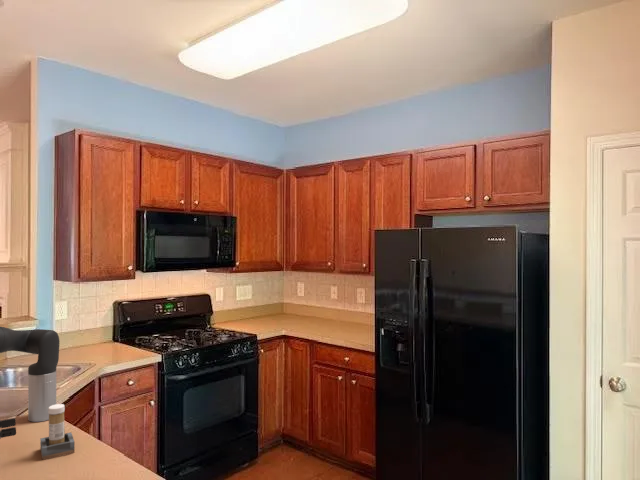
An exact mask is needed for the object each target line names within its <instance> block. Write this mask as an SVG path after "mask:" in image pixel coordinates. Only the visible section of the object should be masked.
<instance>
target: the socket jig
mask: <svg viewBox="0 0 640 480" xmlns="http://www.w3.org/2000/svg"><path fill="white" fill-rule="evenodd" d="M39 441H40V446H39V447H40V454H41V455H40V456H41V460H47V459H52V458H57V457H61V456H66V455H71V454H74V453H76V452H75V450H76V449H75V439H74V436H73V433H72V432H67V433H66V432H65V436H64V443H59V444H54V445H49V436H46V437H42V438H40V440H39Z"/></svg>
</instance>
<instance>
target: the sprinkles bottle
mask: <svg viewBox="0 0 640 480" xmlns="http://www.w3.org/2000/svg"><path fill="white" fill-rule="evenodd" d="M65 410H66V408H65V404H64V403H56V404H55V405H52V406H50V407H49V408H48V413H49V420H48V437H49V445H54V444H59V443H64V436H65V433H66V432H65V431H66V430H65Z"/></svg>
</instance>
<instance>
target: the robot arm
mask: <svg viewBox="0 0 640 480" xmlns="http://www.w3.org/2000/svg"><path fill="white" fill-rule="evenodd" d="M11 351H13V352H21V353H28V354H32V355H37V361H36V362H35V363H32V364H30V365H29V366H28V370H27V376H28V377H27V379H28V380H27V385H28V386H27V388H28V389H27V394H28V395H27V401H28V402H27V403H28V404H27V407H28V409H27V419H28V421H29V422H32V423H33V422H35V423H37V422H38V423H39V422H45V421H49V413H48V408H49V407H50V406H52V405H55V404H57V367H58V363H59V360H60V359H59V357H60V337H59V334H58V332H57V331H55V330H54V329H53V330H52V329H39V328H38V329H37V328H36V329H23V330H19V329H18V330H16V329H11V328H8V327H4V326H0V354H2V353H6V352H11ZM16 422H17V421H16V418H15V417H14V418H8V419H7V418H6V419H2V420H1V419H0V440H1V439H3V438H7V437H8V438H9V437H14V436H16V434H17V427H15V426H16Z"/></svg>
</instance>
